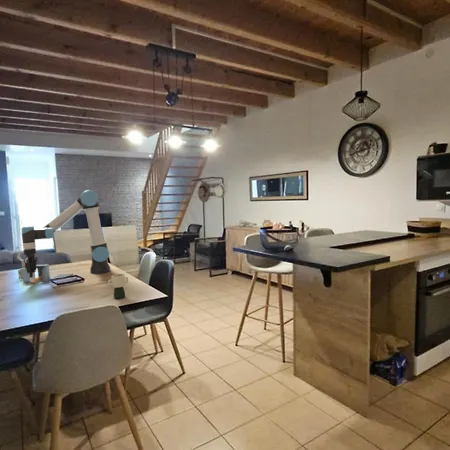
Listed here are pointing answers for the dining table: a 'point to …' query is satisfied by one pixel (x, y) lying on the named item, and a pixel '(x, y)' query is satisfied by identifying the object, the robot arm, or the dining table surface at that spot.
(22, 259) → the engine component
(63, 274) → the felt mat
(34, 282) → the plug
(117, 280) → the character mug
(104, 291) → the dining table surface
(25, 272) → the housing
